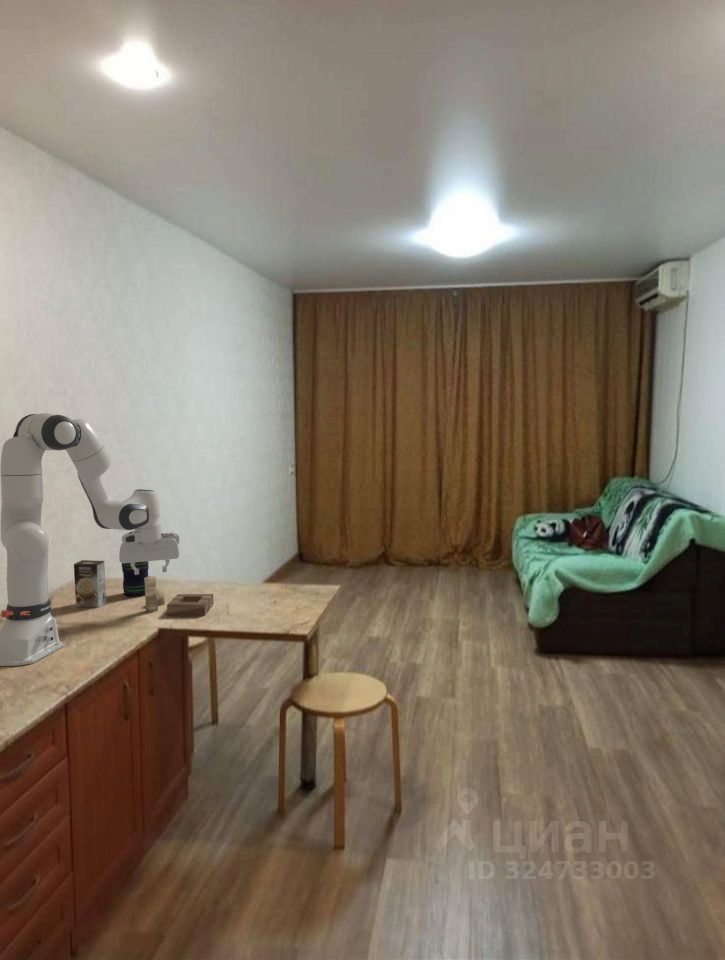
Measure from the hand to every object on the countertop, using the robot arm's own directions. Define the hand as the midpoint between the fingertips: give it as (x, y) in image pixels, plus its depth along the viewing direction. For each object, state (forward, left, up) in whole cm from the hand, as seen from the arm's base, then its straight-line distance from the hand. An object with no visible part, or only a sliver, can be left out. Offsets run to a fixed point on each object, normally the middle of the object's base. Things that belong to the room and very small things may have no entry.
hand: (150, 573), depth 242 cm
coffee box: (+8, +25, -14) cm, 30 cm away
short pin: (+8, 0, -14) cm, 16 cm away
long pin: (0, 0, -14) cm, 14 cm away
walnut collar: (0, -14, -14) cm, 19 cm away
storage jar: (+22, +13, -14) cm, 29 cm away
